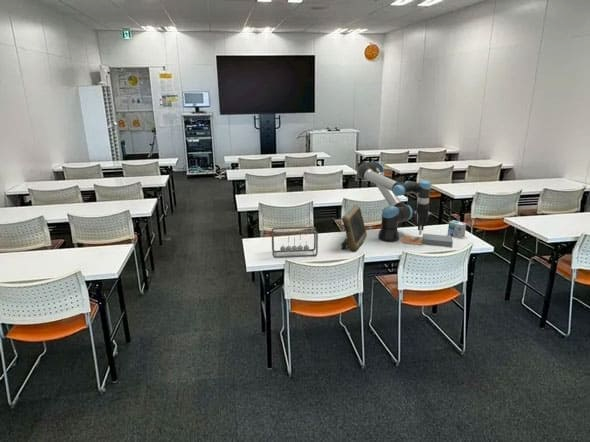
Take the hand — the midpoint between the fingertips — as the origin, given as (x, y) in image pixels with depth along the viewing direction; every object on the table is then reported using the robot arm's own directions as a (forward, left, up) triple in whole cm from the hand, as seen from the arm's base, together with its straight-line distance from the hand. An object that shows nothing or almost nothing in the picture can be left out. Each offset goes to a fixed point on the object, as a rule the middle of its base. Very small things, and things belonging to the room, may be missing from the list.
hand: (420, 234), depth 289 cm
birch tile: (-2, 0, -5) cm, 5 cm away
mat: (-5, 0, -5) cm, 7 cm away
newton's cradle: (-80, -49, -6) cm, 94 cm away
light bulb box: (+26, +19, -6) cm, 33 cm away
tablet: (-45, -18, -6) cm, 49 cm away
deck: (+12, 0, -5) cm, 13 cm away
